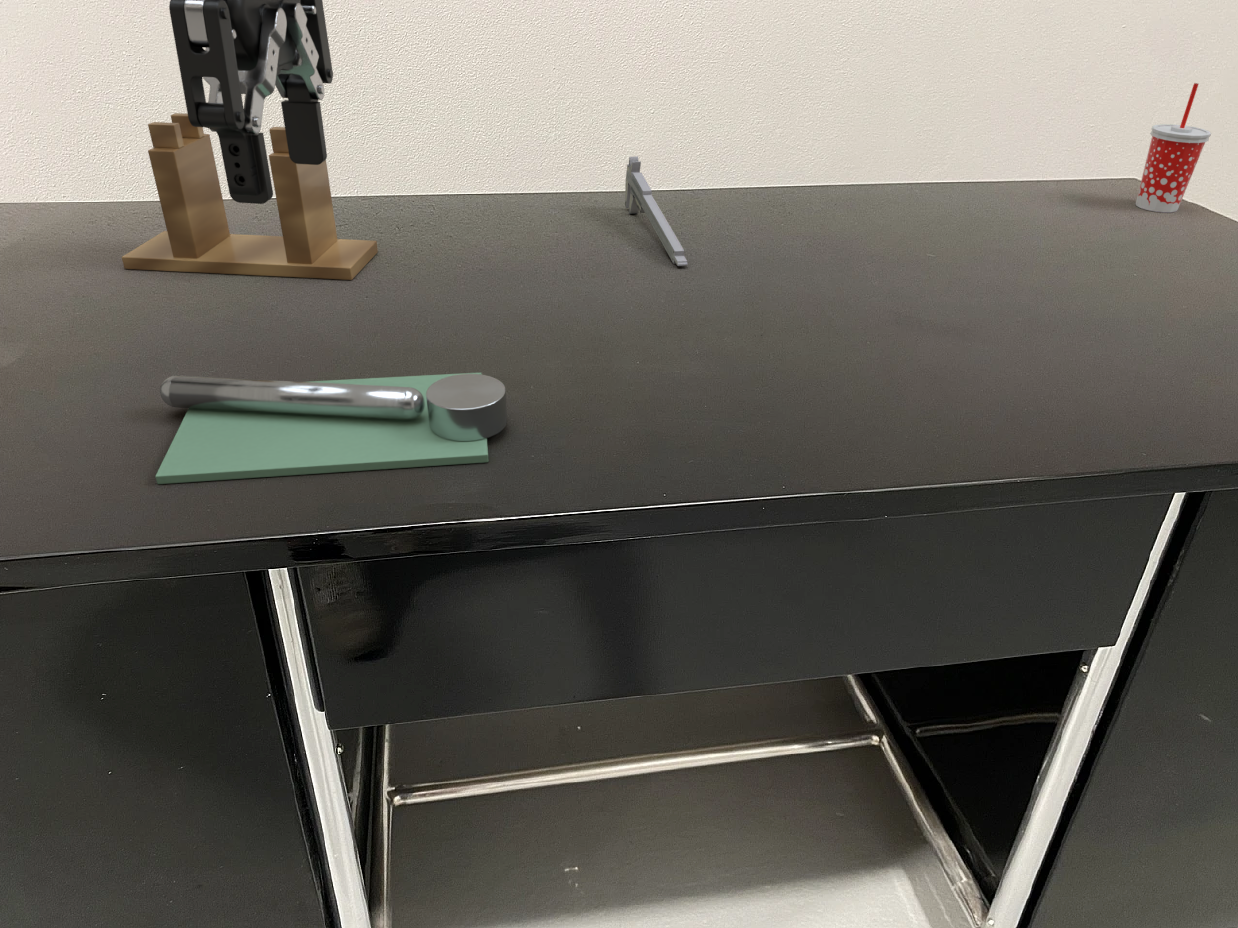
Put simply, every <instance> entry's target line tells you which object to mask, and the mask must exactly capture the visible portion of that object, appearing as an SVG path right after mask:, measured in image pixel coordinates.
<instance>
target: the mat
mask: <svg viewBox="0 0 1238 928" xmlns="http://www.w3.org/2000/svg"><path fill="white" fill-rule="evenodd" d="M459 374H460V373H446V374H445V373H443V374H424V375H407V376H406V375H405V376H387V377H385V376H384V377H370V378H351V379H329V380H311V381H308V382H317V383H337V384H356V385H376V386H396V387H411V388H415V389H417V390H418V391H419V392H421V394H422V395H423V397H424V399H425V409H424V411H423V413H422V414H421V415H420V416H419V417H418V418H416V419H413V420H397V419H378V418H360V417H341V416H322V415H303V414H285V413H266V412H247V411H228V410H210V409H191V408H187V410H186V413H185V415H184V417H183V419H182V421H181V423H180V425H179V427H178V429H177V431H176V433H175V436H174V437H173V439H172V441H171V443H170V445H169V448H168V450H167V452H166V453H165V456H164V457H163V460H162V462H161V464H160V466H159V468H158V470H157V471H156V473H155V480H156V484H157V485H165V484H166V485H168V484H181V483H182V484H183V483H197V482H198V483H199V482H214V481H226V480H227V481H228V480H242V479H259V478H271V477H272V478H273V477H274V478H275V477H287V476H303V475H318V474H334V473H348V472H361V471H362V472H364V471H365V472H366V471H378V470H392V469H407V468H408V469H409V468H422V467H437V466H439V467H440V466H451V465H452V466H453V465H454V466H455V465H470V464H483V463H484V464H485V463H489V449H488V438H485V439H481V440H476V441H453V440H448V439H444V438H441V437H439V436H437V435H436V434H435V433H433V432H432V430H431V429H430V426H429V417H428V408H427V399H426V392H427V389H428V388H429V387H430V386H431V385H432V384H433V383H434V382H436V381H438V380H440V379H443V378H445V377H449V376H453V375H459ZM461 374H481V375H483V373H482V372H465V373H461Z"/></svg>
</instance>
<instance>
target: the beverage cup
mask: <svg viewBox="0 0 1238 928" xmlns="http://www.w3.org/2000/svg"><path fill="white" fill-rule="evenodd" d="M1198 88H1199V83H1198V82H1194V83H1193V86H1192V89H1191V92H1190V95H1189V98H1188V101H1187V104H1186V107H1185V110H1184V113H1183V115H1182V120H1181V121H1180V124H1171V123H1170V124H1167V123H1162V124H1161V123H1160V124H1155V125H1152V126H1151V132H1150V133H1149V134H1150V135H1151V138H1150V142H1149V147H1148V151H1147V156H1146V160H1145V163H1144V167H1143V172H1142V176H1141V179H1140V184H1139V188H1138V193H1137V196H1136V200H1135V206H1136V207H1138V208H1139V209H1142V210H1146V211H1150V212H1156V213H1176V212H1177V211H1178V210H1179V208H1180V206H1181V203H1182V200H1183V198H1184V196H1185V193H1186V190H1187V189H1188V186H1189V183H1190V181H1191V179H1192V176H1193V174H1194V171H1195V168H1196V166H1197V164H1198V162H1199V159H1200V156H1201V155H1202V152H1203V149H1204V147H1205V144H1206V143H1207V142H1209V139H1210V137H1211V135H1212V133H1211V131H1209V130H1207V129H1205V128H1201V127H1197V126H1190V125H1186V124H1187V121H1188V118H1189V115H1190V111H1191V109H1192V105H1193V103H1194V99H1195V97H1196V93H1197V91H1198Z"/></svg>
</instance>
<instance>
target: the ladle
mask: <svg viewBox="0 0 1238 928" xmlns="http://www.w3.org/2000/svg"><path fill="white" fill-rule="evenodd" d="M458 374H459V375H453V376H449V377H445V378H443V379H440V380H438V381H436V382H434V383H433V384H432V385H431V386H430V387H429V388H428V389H427V392H426V399H427V408H428V417H429V426H430V429H431V430H432V432H433V433H435V434H436V435H437V436H439V437H441V438H444V439H448V440H453V441H476V440H481V439H485V438H487V439H488V438H491V437H493V436H496V435H497V434H499V433H501V432H502V431H503V430H504V429H505V427H506V426H507V424H508V406H507V405H508V404H507V391H506V390H507V389H506V386H505V384H504V383H503V382H502V380H500V379H498V378H495V377H493V376H491V375H486V374H482V375H481V374H462V373H458ZM159 396H160V398H161V400H162V401H163V403H165V404H166V405H167V406H169V407H172V408H176V409H177V408H178V409H189V408H191V409H210V410H228V411H247V412H266V413H285V414H303V415H322V416H341V417H360V418H378V419H397V420H413V419H416V418H418V417H419V416H420V415H421V414H422V413H423V411H424V409H425V399H424V397H423V395H422V394H421V392H419V391H418V390H417V389H415V388H411V387H396V386H376V385H356V384H337V383H317V382H309V381H296V380H275V379H259V378H258V379H256V378H239V377H238V378H236V377H219V376H197V375H196V376H195V375H180V374H179V375H177V374H176V375H171V376H169V377H167V378H165V379H164V380H163V381H162V383H161V384H160V387H159Z"/></svg>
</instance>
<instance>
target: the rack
mask: <svg viewBox="0 0 1238 928" xmlns="http://www.w3.org/2000/svg"><path fill="white" fill-rule="evenodd" d="M170 119H171V122H161V121H152V122H150V123H148V124H147V127H148V131H149V135H150V139H151V140H150V141H151V144H152V148H150V149H148V150H147V153H148V157H149V161H150V162H149V163H150V166H151V169H152V174H153V178H154V182H155V186H156V190H157V191H156V192H157V195H158V199H159V203H160V207H161V211H162V216H163V220H164V222H165V223H164V224H165V228H166V230H163V231H161V232H160V233H158V234H157V235H155V236H153V237H152V238H150V239H149V240H147V241H145V242H144V243H142V244H140V245H139V246H137V247H135V248H134V249H132V250H131V251H129V252H128V253H126V254H124V255H122V256H121V261H122V265H123V268H124V269H125V270H137V271H138V270H139V271H140V270H141V271H157V272H158V271H159V272H181V273H201V274H202V273H203V274H221V275H222V274H223V275H224V274H225V275H242V276H259V277H261V276H263V277H281V278H301V279H302V278H303V279H304V278H305V279H325V280H341V281H342V280H343V281H344V280H345V281H352V280H353V279H354V278H355V277H356V276H357V275H358V274H359V273H361V271H362V270H363V269H364V268H365V267H366V265H367V264H368V263H369V262H370V261H372V259H373V258H374V257H375V256H376V255H377V254H378V253H379V249H378V242H377V240H366V239H349V238H348V239H345V238H338V233H337V227H336V220H335V215H334V214H335V212H334V205H333V199H332V192H331V185H330V184H331V183H330V179H329V171H328V163H327V159H326V160H325V161H324V162H322V163H321V164H319V165H309V164H296V163H294V162H293V161H292V160H291V159H290V157H289V151H288V145H287V138H286V132H285V126H273V127H270V128H268V130H269V137H270V142H271V148H272V153H270V154H268V160H269V167H270V172H271V178H272V182H273V188H274V189H273V190H274V194H275V200H276V205H277V212H278V217H279V222H280V223H279V224H280V228H281V229H280V230H281V234H282V235H281V236H280V235H278V236H277V235H259V234H236V233H230V228H229V223H228V218H227V213H226V208H225V203H224V199H223V193H222V190H221V189H222V188H221V183H220V180H219V174H218V169H217V164H216V159H215V155H214V149H213V144H212V139H211V135H210V134H209V133H205V132H204V127H194V126H192V125H191V123H190V121H189V118H188V113H185V112H183V113H182V112H175V113H172V114H171V115H170Z"/></svg>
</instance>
